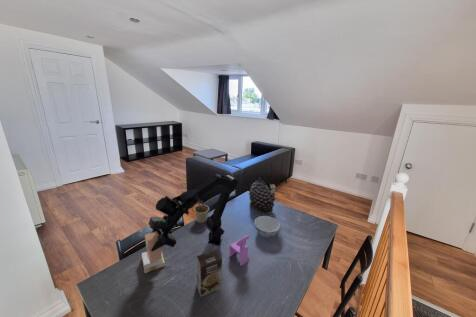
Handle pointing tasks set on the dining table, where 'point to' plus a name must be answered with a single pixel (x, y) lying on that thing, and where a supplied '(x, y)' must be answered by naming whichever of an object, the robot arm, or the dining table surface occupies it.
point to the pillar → (150, 242)
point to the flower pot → (201, 213)
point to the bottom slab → (154, 266)
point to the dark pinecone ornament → (262, 196)
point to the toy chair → (240, 249)
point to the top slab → (147, 263)
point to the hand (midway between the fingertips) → (150, 247)
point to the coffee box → (209, 272)
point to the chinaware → (267, 226)
